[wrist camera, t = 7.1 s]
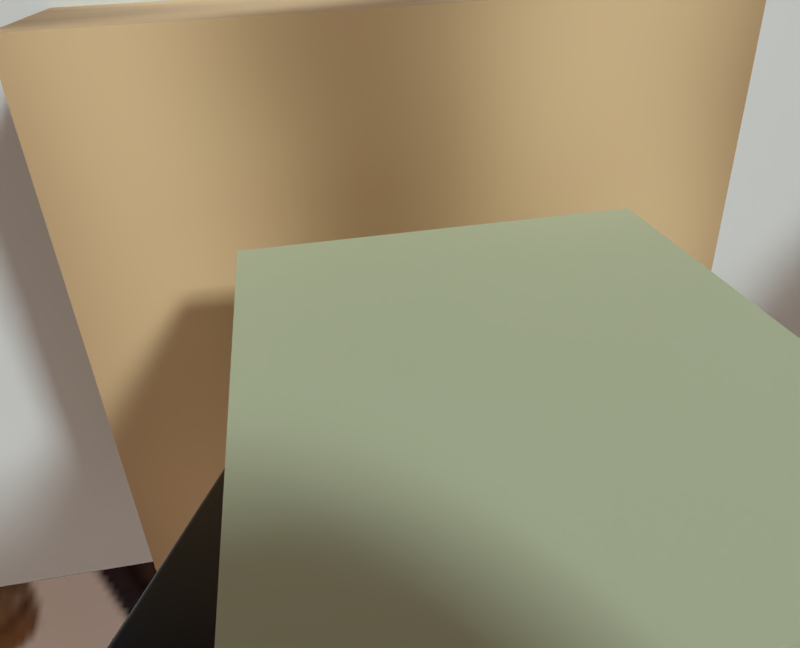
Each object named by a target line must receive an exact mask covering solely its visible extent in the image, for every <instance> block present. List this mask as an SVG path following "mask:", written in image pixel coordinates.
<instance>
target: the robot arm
mask: <svg viewBox="0 0 800 648" xmlns="http://www.w3.org/2000/svg"><path fill="white" fill-rule="evenodd" d="M224 473H225V468H224V470H223V471H222V473H221V474H220V476H219V477H218V479H217V480H216V482H215V483H214V485H213V486H212V488H211V490H210V491H209V493H208V494H207V496H206V497H205V499H204V500H203V502H202V503H201V505H200V506H199V508H198V510H197V511H196V513H195V514H194V516H193V517H192V519H191V520H190V522H189V523H188V525H187V526H186V528H185V529H184V531H183V533H182V534H181V536H180V537H179V539H178V540H177V542H176V543H175V545H174V546H173V548H172V549H171V551H170V552H169V554H168V556H167V557H166V559H165V560H164V562H163V563H162V565H161V566H160V568H159V569H158V571H157V572H156V574H155V575H154V577H153V579H152V580H151V582H150V583H149V585H148V586H147V588H146V589H145V591H144V592H143V594H142V595H141V597H140V599H139V600H138V602H137V603H136V605H135V606H134V608H133V609H132V611H131V612H130V614H129V615H128V617H127V618H126V620H125V622H124V623H123V625H122V626H121V628H120V629H119V631H118V632H117V634H116V635H115V637H114V638H113V640H112V642H111V643H110V645H109V646H108V648H214V647H215V629H216V612H217V595H218V577H219V560H220V543H221V525H222V508H223V491H224Z"/></svg>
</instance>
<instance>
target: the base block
mask: <svg viewBox="0 0 800 648" xmlns="http://www.w3.org/2000/svg"><path fill="white" fill-rule="evenodd" d="M765 4H766V0H167V1H151V2H135V3H118V4H102V5H86V6H69V7H53V8H48V9H46V10H43V11H41V12H38V13H36V14H33V15H31V16H28V17H26V18H23V19H20V20H18V21H15V22H13V23H10V24H8V25H5V26H3V27H0V81H1V84H2V87H3V91H4V94H5V97H6V100H7V103H8V106H9V109H10V113H11V116H12V119H13V122H14V125H15V128H16V131H17V135H18V138H19V141H20V144H21V147H22V150H23V153H24V157H25V160H26V163H27V166H28V169H29V172H30V175H31V179H32V182H33V185H34V188H35V191H36V194H37V198H38V201H39V204H40V207H41V210H42V213H43V216H44V220H45V223H46V226H47V229H48V232H49V235H50V238H51V242H52V245H53V248H54V251H55V254H56V257H57V260H58V264H59V267H60V270H61V273H62V276H63V279H64V282H65V286H66V289H67V292H68V295H69V298H70V301H71V305H72V308H73V311H74V314H75V317H76V320H77V323H78V327H79V330H80V333H81V336H82V339H83V342H84V345H85V349H86V352H87V355H88V358H89V361H90V364H91V367H92V371H93V374H94V377H95V380H96V383H97V386H98V390H99V393H100V396H101V399H102V402H103V405H104V408H105V412H106V415H107V418H108V421H109V424H110V427H111V430H112V434H113V437H114V440H115V443H116V446H117V449H118V452H119V456H120V459H121V462H122V465H123V468H124V471H125V474H126V478H127V481H128V484H129V487H130V490H131V493H132V497H133V500H134V503H135V506H136V509H137V512H138V515H139V519H140V522H141V525H142V528H143V531H144V534H145V537H146V541H147V544H148V547H149V550H150V553H151V556H152V559H153V563H154V566H155V569H156V572H157V571H158V569H159V568H160V566H161V565H162V563H163V562H164V560H165V559H166V557H167V556H168V554H169V552H170V551H171V549H172V548H173V546H174V545H175V543H176V542H177V540H178V539H179V537H180V536H181V534H182V533H183V531H184V529H185V528H186V526H187V525H188V523H189V522H190V520H191V519H192V517H193V516H194V514H195V513H196V511H197V510H198V508H199V506H200V505H201V503H202V502H203V500H204V499H205V497H206V496H207V494H208V493H209V491H210V490H211V488H212V486H213V485H214V483H215V482H216V480H217V479H218V477H219V476H220V474H221V473H222V471H223V470H224V468H225V456H226V439H227V421H228V404H229V387H230V369H231V352H232V335H233V317H234V300H235V283H236V265H237V251H240V250H250V249H259V248H268V247H277V246H286V245H295V244H304V243H314V242H323V241H332V240H341V239H350V238H359V237H368V236H378V235H387V234H396V233H405V232H414V231H423V230H432V229H441V228H451V227H460V226H469V225H478V224H487V223H496V222H505V221H515V220H524V219H533V218H542V217H551V216H560V215H569V214H579V213H588V212H597V211H606V210H615V209H624V208H629V209H630V210H631V211H633V212H634V213H635V214H636V215H638V216H639V217H640V218H642V219H643V220H644V221H646V222H647V223H648V224H650V225H651V226H652V227H654V228H655V229H656V230H658V231H659V232H660V233H661V234H663V235H664V236H665V237H667V238H668V239H669V240H671V241H672V242H673V243H675V244H676V245H677V246H679V247H680V248H681V249H683V250H684V251H685V252H686V253H688V254H689V255H690V256H692V257H693V258H694V259H696V260H697V261H698V262H700V263H701V264H702V265H704V266H705V267H706V268H708V269H709V270H710V271H711V270H712V265H713V260H714V255H715V250H716V245H717V241H718V236H719V231H720V226H721V221H722V216H723V211H724V206H725V201H726V196H727V191H728V186H729V181H730V177H731V172H732V167H733V162H734V157H735V152H736V147H737V142H738V137H739V132H740V127H741V122H742V117H743V113H744V108H745V103H746V98H747V93H748V88H749V83H750V78H751V73H752V68H753V63H754V58H755V54H756V49H757V44H758V39H759V34H760V29H761V24H762V19H763V14H764V9H765Z"/></svg>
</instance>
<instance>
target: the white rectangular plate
mask: <svg viewBox="0 0 800 648" xmlns="http://www.w3.org/2000/svg"><path fill="white" fill-rule="evenodd" d="M151 1H167V0H0V27H3V26H5V25H8V24H10V23H13V22H15V21H18V20H20V19H23V18H26V17H28V16H31V15H33V14H36V13H38V12H41V11H43V10H46V9H48V8H53V7H69V6H86V5H102V4H118V3H135V2H151ZM711 272H713V273H714V274H715V275H717V276H718V277H719V278H721V279H722V280H723V281H725V282H726V283H727V284H729V285H730V286H731V287H733V288H734V289H735V290H736V291H738V292H739V293H740V294H742V295H743V296H744V297H746V298H747V299H748V300H750V301H751V302H752V303H754V304H755V305H756V306H758V307H759V308H760V309H762V310H763V311H764V312H765V313H767V314H768V315H769V316H771V317H772V318H773V319H775V320H776V321H777V322H779V323H780V324H781V325H783V326H784V327H785V328H787V329H788V330H789V331H790V332H792V333H793V334H794V335H796V336H797V337H798V338H800V0H766V4H765V9H764V14H763V19H762V24H761V29H760V34H759V39H758V44H757V49H756V54H755V58H754V63H753V68H752V73H751V78H750V83H749V88H748V93H747V98H746V103H745V108H744V113H743V117H742V122H741V127H740V132H739V137H738V142H737V147H736V152H735V157H734V162H733V167H732V172H731V177H730V181H729V186H728V191H727V196H726V201H725V206H724V211H723V216H722V221H721V226H720V231H719V236H718V241H717V245H716V250H715V255H714V260H713V265H712V270H711ZM147 562H153V559H152V556H151V553H150V550H149V547H148V544H147V541H146V537H145V534H144V531H143V528H142V525H141V522H140V519H139V515H138V512H137V509H136V506H135V503H134V500H133V497H132V493H131V490H130V487H129V484H128V481H127V478H126V474H125V471H124V468H123V465H122V462H121V459H120V456H119V452H118V449H117V446H116V443H115V440H114V437H113V434H112V430H111V427H110V424H109V421H108V418H107V415H106V412H105V408H104V405H103V402H102V399H101V396H100V393H99V390H98V386H97V383H96V380H95V377H94V374H93V371H92V367H91V364H90V361H89V358H88V355H87V352H86V349H85V345H84V342H83V339H82V336H81V333H80V330H79V327H78V323H77V320H76V317H75V314H74V311H73V308H72V305H71V301H70V298H69V295H68V292H67V289H66V286H65V282H64V279H63V276H62V273H61V270H60V267H59V264H58V260H57V257H56V254H55V251H54V248H53V245H52V242H51V238H50V235H49V232H48V229H47V226H46V223H45V220H44V216H43V213H42V210H41V207H40V204H39V201H38V198H37V194H36V191H35V188H34V185H33V182H32V179H31V175H30V172H29V169H28V166H27V163H26V160H25V157H24V153H23V150H22V147H21V144H20V141H19V138H18V135H17V131H16V128H15V125H14V122H13V119H12V116H11V113H10V109H9V106H8V103H7V100H6V97H5V94H4V91H3V87H2V84H1V81H0V587H2V586H8V585H14V584H20V583H26V582H33V581H39V580H45V579H51V578H56V577H63V576H69V575H74V574H81V573H87V572H93V571H99V570H105V569H111V568H117V567H123V566H129V565H135V564H141V563H147Z"/></svg>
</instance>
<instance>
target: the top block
mask: <svg viewBox="0 0 800 648" xmlns="http://www.w3.org/2000/svg"><path fill="white" fill-rule="evenodd" d="M214 648H800V338H798V337H797V336H796V335H794V334H793V333H792V332H790V331H789V330H788V329H787V328H785V327H784V326H783V325H781V324H780V323H779V322H777V321H776V320H775V319H773V318H772V317H771V316H769V315H768V314H767V313H765V312H764V311H763V310H762V309H760V308H759V307H758V306H756V305H755V304H754V303H752V302H751V301H750V300H748V299H747V298H746V297H744V296H743V295H742V294H740V293H739V292H738V291H736V290H735V289H734V288H733V287H731V286H730V285H729V284H727V283H726V282H725V281H723V280H722V279H721V278H719V277H718V276H717V275H715V274H714V273H713V272H711V271H710V270H709V269H708V268H706V267H705V266H704V265H702V264H701V263H700V262H698V261H697V260H696V259H694V258H693V257H692V256H690V255H689V254H688V253H686V252H685V251H684V250H683V249H681V248H680V247H679V246H677V245H676V244H675V243H673V242H672V241H671V240H669V239H668V238H667V237H665V236H664V235H663V234H661V233H660V232H659V231H658V230H656V229H655V228H654V227H652V226H651V225H650V224H648V223H647V222H646V221H644V220H643V219H642V218H640V217H639V216H638V215H636V214H635V213H634V212H633V211H631V210H630V209H629V208H624V209H615V210H606V211H597V212H588V213H579V214H569V215H560V216H551V217H542V218H533V219H524V220H515V221H505V222H496V223H487V224H478V225H469V226H460V227H451V228H441V229H432V230H423V231H414V232H405V233H396V234H387V235H378V236H368V237H359V238H350V239H341V240H332V241H323V242H314V243H304V244H295V245H286V246H277V247H268V248H259V249H250V250H240V251H237V265H236V283H235V300H234V317H233V335H232V352H231V369H230V387H229V404H228V421H227V439H226V456H225V473H224V491H223V508H222V525H221V543H220V560H219V577H218V595H217V612H216V629H215V647H214Z"/></svg>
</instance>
